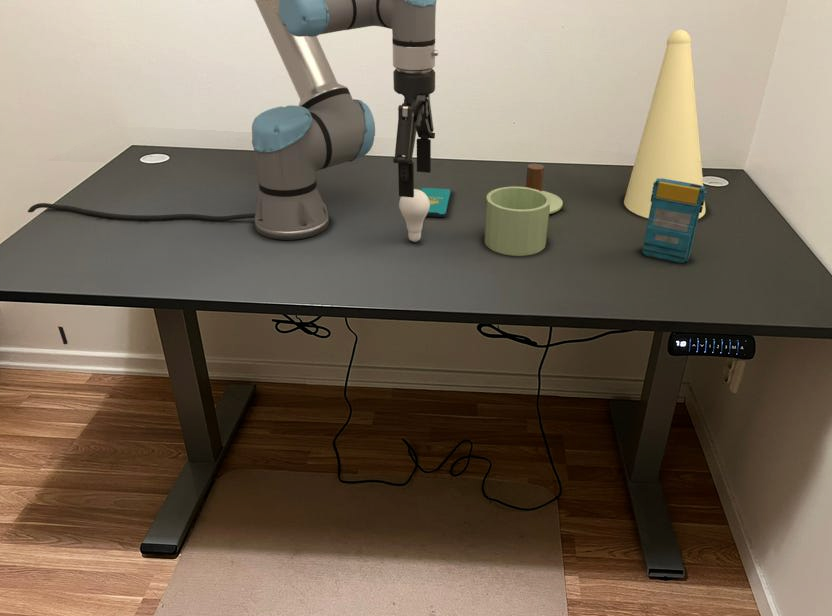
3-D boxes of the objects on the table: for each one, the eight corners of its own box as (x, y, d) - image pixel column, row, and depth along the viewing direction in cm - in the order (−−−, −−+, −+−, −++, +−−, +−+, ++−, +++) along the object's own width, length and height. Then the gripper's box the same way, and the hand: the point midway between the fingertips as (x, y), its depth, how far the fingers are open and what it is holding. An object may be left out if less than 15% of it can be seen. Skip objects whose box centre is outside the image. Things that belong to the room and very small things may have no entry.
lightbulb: (435, 239, 148) (435, 188, 142) (418, 250, 144) (418, 198, 138) (410, 232, 151) (410, 182, 145) (393, 243, 147) (392, 191, 141)
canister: (479, 251, 144) (481, 207, 139) (490, 226, 154) (492, 183, 149) (542, 259, 142) (546, 213, 137) (548, 232, 152) (553, 189, 147)
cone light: (715, 223, 158) (756, 53, 138) (631, 220, 158) (660, 50, 138) (688, 182, 178) (721, 29, 158) (614, 180, 179) (637, 26, 159)
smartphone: (451, 188, 169) (445, 213, 157) (451, 191, 170) (445, 217, 157) (420, 187, 170) (412, 212, 157) (420, 190, 170) (412, 216, 158)
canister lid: (497, 214, 160) (500, 174, 155) (507, 191, 171) (509, 153, 166) (559, 220, 158) (563, 180, 152) (564, 197, 169) (569, 159, 163)
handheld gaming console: (691, 257, 144) (708, 185, 135) (687, 266, 141) (704, 193, 132) (642, 247, 147) (656, 176, 139) (638, 255, 144) (651, 183, 136)
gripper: (417, 87, 118) (418, 209, 130) (449, 55, 138) (447, 163, 150) (373, 84, 119) (378, 205, 131) (411, 53, 139) (412, 160, 151)
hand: (415, 183), depth 141 cm, fingers open, 13 cm apart
